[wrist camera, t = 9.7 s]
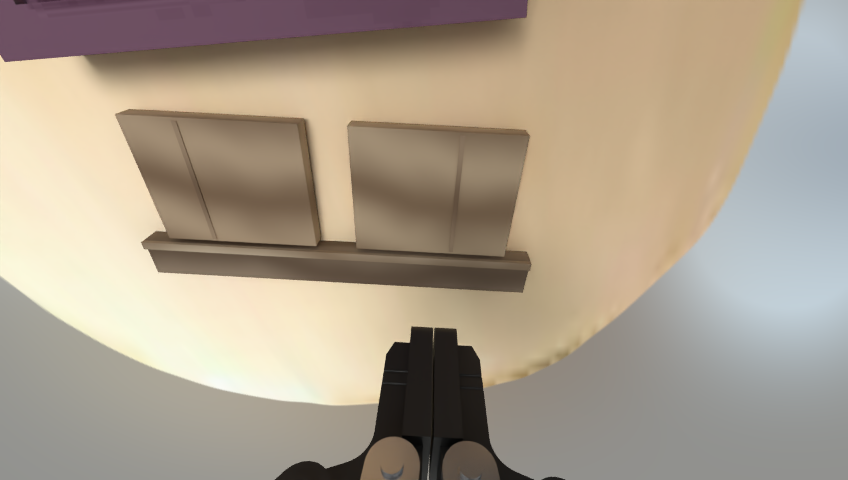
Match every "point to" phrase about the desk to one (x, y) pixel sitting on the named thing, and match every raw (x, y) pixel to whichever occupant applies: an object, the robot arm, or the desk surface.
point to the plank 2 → (434, 186)
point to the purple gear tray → (214, 22)
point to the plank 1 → (226, 175)
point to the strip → (339, 264)
